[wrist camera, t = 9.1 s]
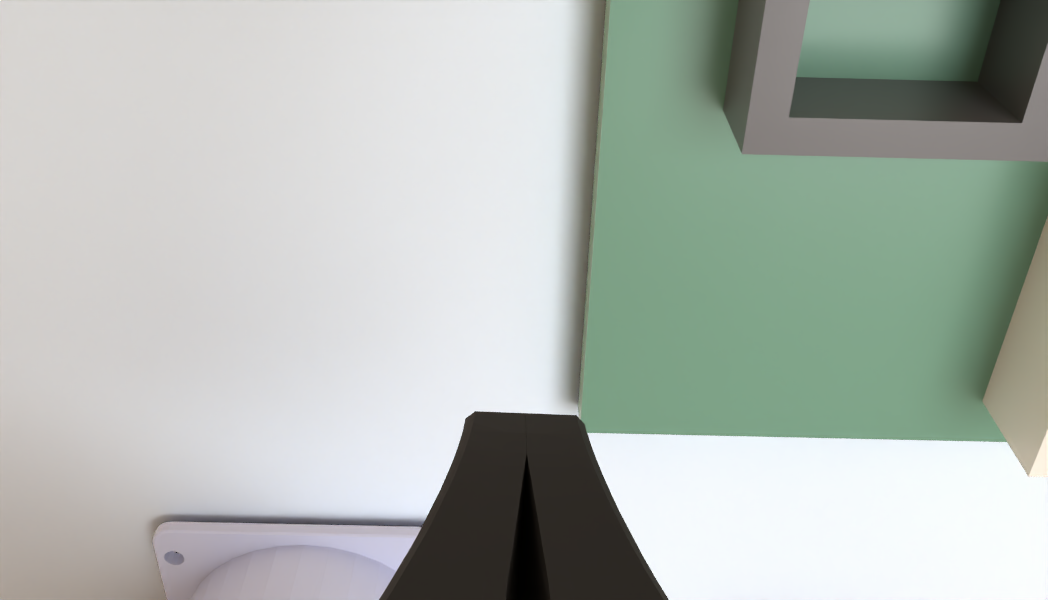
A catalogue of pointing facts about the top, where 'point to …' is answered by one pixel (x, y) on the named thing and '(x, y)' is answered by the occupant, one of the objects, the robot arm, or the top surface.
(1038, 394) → the frame
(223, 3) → the top surface
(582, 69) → the top surface
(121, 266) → the top surface
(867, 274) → the board
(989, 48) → the block
